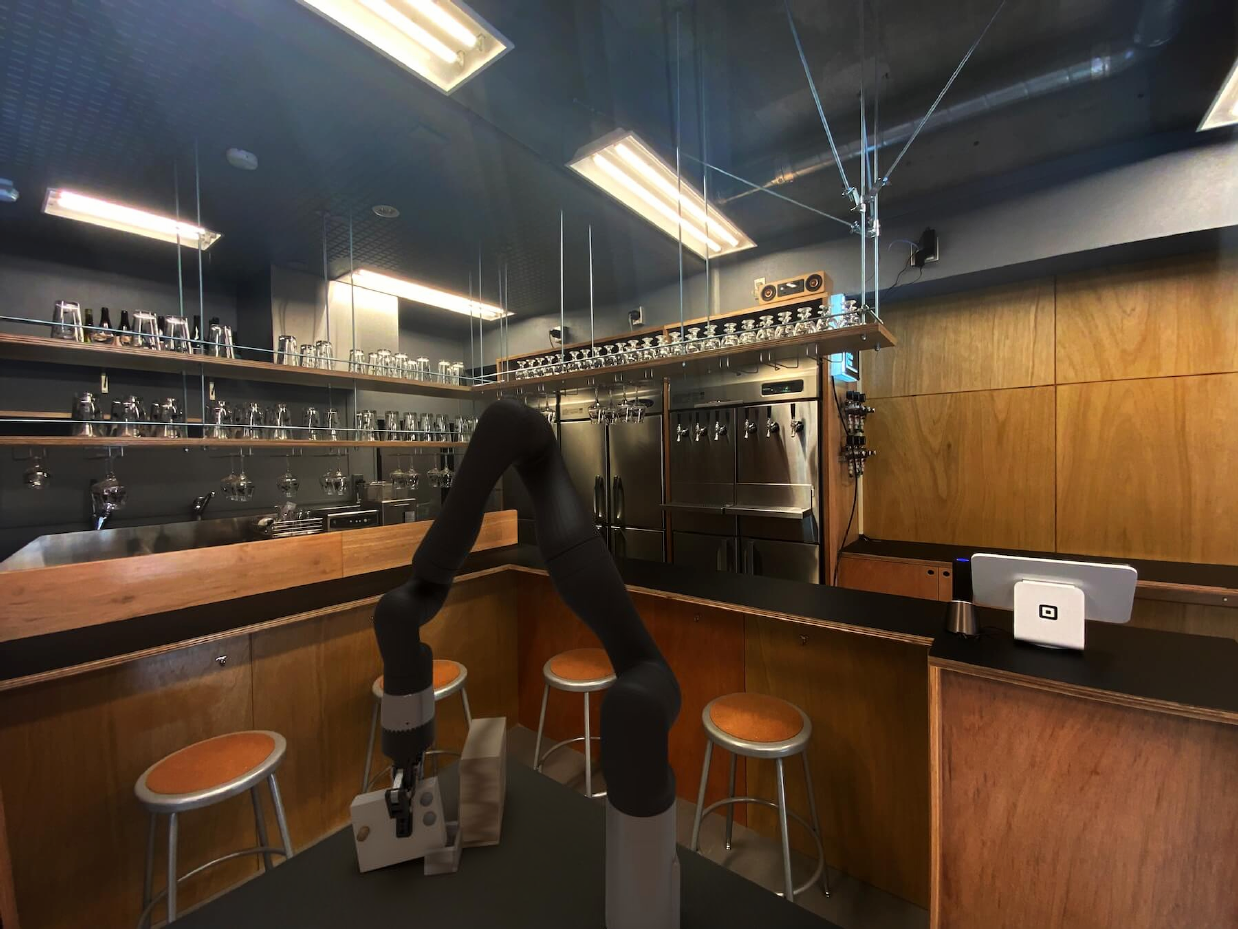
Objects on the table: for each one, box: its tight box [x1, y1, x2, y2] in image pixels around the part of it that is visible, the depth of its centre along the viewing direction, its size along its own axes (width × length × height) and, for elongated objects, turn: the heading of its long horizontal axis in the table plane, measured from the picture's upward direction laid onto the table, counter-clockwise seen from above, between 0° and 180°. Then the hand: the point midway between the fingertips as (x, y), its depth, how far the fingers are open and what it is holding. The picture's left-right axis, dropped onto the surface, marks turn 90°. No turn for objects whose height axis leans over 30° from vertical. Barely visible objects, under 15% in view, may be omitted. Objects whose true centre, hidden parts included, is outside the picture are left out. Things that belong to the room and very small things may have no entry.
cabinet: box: [423, 716, 507, 876], centre depth 78 cm, size 10×16×14 cm, turn 8°
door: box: [349, 776, 447, 873], centre depth 71 cm, size 12×4×10 cm, turn 99°
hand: (407, 827), depth 72 cm, fingers closed on door, 2 cm apart
